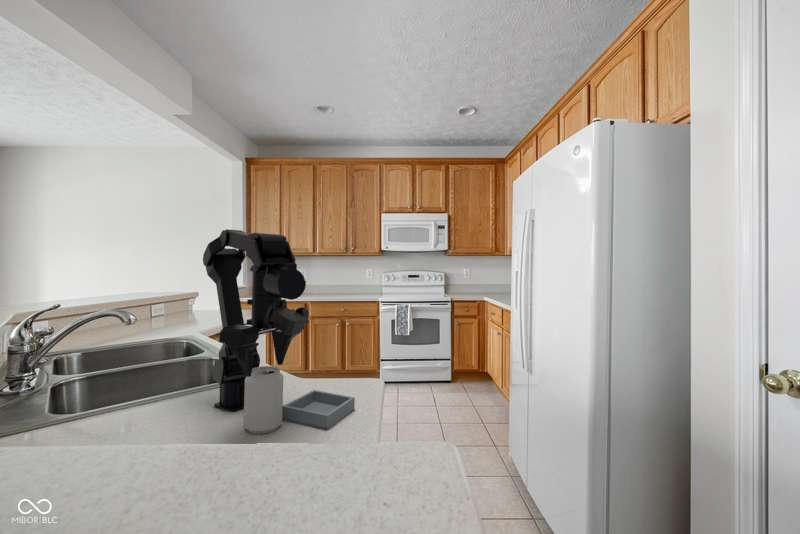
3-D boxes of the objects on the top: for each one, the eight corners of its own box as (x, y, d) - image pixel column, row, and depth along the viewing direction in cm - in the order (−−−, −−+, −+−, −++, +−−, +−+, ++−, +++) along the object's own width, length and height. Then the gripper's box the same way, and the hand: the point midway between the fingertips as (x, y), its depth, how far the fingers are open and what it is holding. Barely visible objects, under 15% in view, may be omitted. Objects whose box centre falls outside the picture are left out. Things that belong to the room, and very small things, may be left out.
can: (269, 437, 72) (271, 376, 72) (235, 432, 73) (237, 373, 73) (288, 421, 79) (290, 366, 79) (257, 417, 81) (258, 362, 80)
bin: (282, 420, 80) (282, 406, 80) (313, 401, 90) (313, 389, 90) (327, 430, 75) (327, 416, 75) (354, 410, 86) (354, 397, 86)
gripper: (266, 302, 64) (263, 390, 64) (325, 294, 82) (323, 364, 82) (218, 297, 68) (216, 380, 69) (284, 290, 86) (282, 357, 86)
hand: (264, 369), depth 76 cm, fingers open, 9 cm apart
